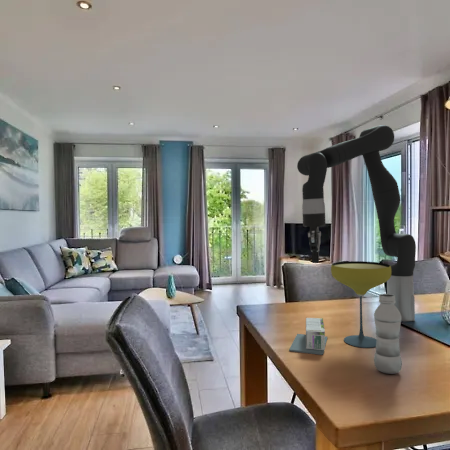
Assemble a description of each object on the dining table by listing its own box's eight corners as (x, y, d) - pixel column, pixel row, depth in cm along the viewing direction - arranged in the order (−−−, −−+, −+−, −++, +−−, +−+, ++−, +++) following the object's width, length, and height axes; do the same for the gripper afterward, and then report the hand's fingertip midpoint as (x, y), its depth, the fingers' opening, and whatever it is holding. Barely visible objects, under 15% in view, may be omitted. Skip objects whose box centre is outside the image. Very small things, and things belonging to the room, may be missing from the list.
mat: (327, 338, 117) (327, 336, 117) (323, 355, 103) (322, 353, 103) (297, 335, 120) (297, 333, 120) (289, 351, 106) (289, 349, 106)
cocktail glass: (370, 330, 123) (369, 260, 123) (405, 349, 105) (404, 267, 105) (322, 334, 120) (321, 262, 120) (350, 355, 102) (348, 270, 102)
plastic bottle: (369, 367, 94) (368, 293, 94) (393, 365, 95) (392, 292, 94) (382, 378, 88) (380, 298, 87) (407, 376, 88) (406, 297, 88)
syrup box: (322, 334, 119) (326, 350, 105) (305, 333, 120) (306, 349, 106) (322, 318, 119) (325, 331, 105) (305, 317, 120) (305, 330, 106)
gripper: (323, 212, 112) (325, 265, 113) (326, 211, 124) (328, 260, 125) (299, 213, 115) (301, 265, 115) (305, 212, 127) (306, 260, 128)
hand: (315, 262), depth 120 cm, fingers closed
